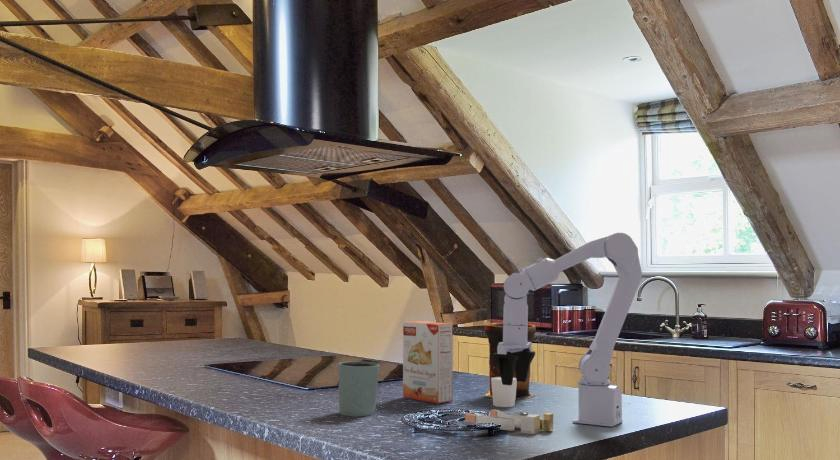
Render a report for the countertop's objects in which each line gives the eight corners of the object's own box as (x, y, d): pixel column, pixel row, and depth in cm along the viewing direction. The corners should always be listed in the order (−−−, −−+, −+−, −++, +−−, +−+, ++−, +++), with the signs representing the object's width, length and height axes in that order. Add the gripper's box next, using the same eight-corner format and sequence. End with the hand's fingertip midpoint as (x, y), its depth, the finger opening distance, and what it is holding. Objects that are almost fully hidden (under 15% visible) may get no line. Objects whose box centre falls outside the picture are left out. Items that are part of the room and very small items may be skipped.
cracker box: (401, 397, 219) (402, 320, 220) (417, 395, 223) (418, 320, 224) (437, 404, 209) (437, 323, 210) (453, 401, 213) (453, 322, 214)
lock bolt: (553, 430, 175) (553, 413, 175) (549, 431, 173) (549, 414, 173) (532, 427, 177) (532, 411, 177) (528, 428, 176) (528, 412, 176)
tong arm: (525, 428, 176) (525, 417, 177) (520, 428, 176) (520, 417, 176) (495, 419, 186) (495, 409, 187) (490, 420, 186) (490, 409, 186)
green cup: (340, 409, 200) (340, 360, 201) (380, 409, 200) (381, 361, 200) (334, 416, 190) (335, 365, 191) (377, 417, 190) (377, 366, 190)
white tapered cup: (500, 402, 213) (500, 375, 214) (522, 405, 209) (522, 377, 209) (485, 405, 208) (485, 378, 208) (507, 408, 204) (507, 380, 204)
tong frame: (539, 431, 174) (539, 413, 174) (533, 434, 171) (533, 415, 171) (472, 423, 182) (472, 405, 182) (465, 426, 179) (465, 408, 180)
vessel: (517, 389, 235) (518, 321, 236) (545, 398, 222) (545, 325, 223) (474, 392, 229) (475, 322, 229) (500, 401, 216) (501, 327, 217)
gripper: (513, 322, 197) (512, 378, 196) (485, 325, 184) (484, 384, 184) (540, 324, 193) (538, 381, 192) (513, 327, 181) (512, 387, 180)
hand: (514, 383), depth 188 cm, fingers open, 7 cm apart
